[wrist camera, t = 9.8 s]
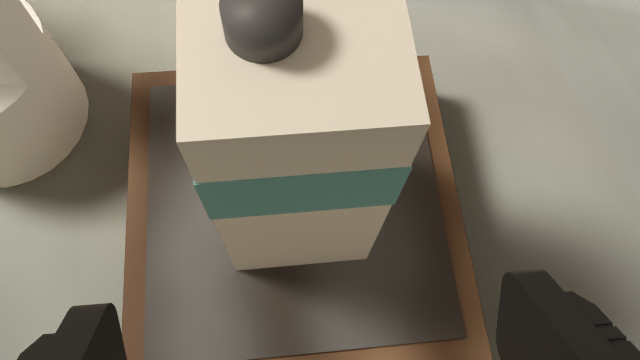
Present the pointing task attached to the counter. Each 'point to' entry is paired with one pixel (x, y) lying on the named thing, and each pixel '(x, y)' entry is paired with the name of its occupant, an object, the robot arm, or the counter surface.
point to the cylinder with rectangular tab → (35, 97)
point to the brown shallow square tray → (292, 281)
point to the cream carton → (297, 122)
